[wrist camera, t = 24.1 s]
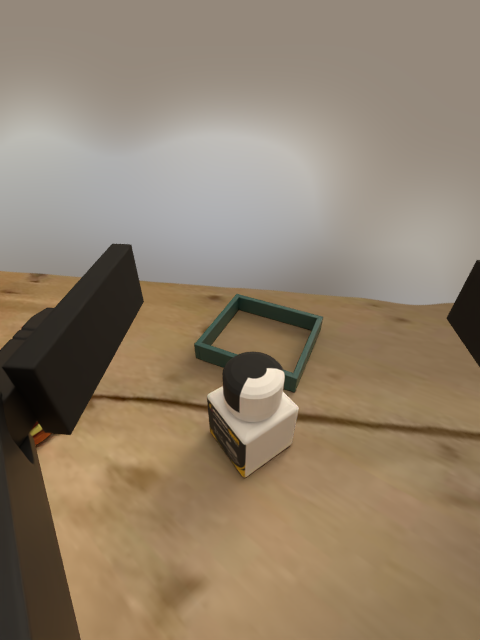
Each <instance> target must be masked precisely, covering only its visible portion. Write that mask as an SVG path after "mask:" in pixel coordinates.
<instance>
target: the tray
mask: <svg viewBox="0 0 480 640" xmlns="http://www.w3.org/2000/svg"><path fill="white" fill-rule="evenodd" d="M238 310H242V311H245V312H249V313H252V314H256V315H259V316H263V317H267V318H270V319H274V320H277V321H281V322H284V323H288V324H291V325H295V326H298V327H302V328H306V329H309V330H312V332H311V334H310V336H309V338H308V341H307V343H306V345H305V347H304V350H303V352H302V354H301V357H300V359H299V361H298V363H297V366H296V368H295V370H294V372H293V373H292V372H289V371H285V370H283V371H284V375H285V378H284V386H283V389H286V390H290V391H292V392H295V391H296V388H297V386H298V384H299V381H300V379H301V376H302V374H303V371H304V369H305V366H306V364H307V361H308V359H309V357H310V354H311V352H312V349H313V347H314V344H315V342H316V339H317V337H318V335H319V332H320V330H321V325H322V320H323V317H322V316H318V315H314V314H311V313H307V312H303V311H299V310H296V309H292V308H288V307H284V306H280V305H277V304H273V303H269V302H265V301H262V300H258V299H254V298H250V297H247V296H243V295H239V294H236V295H235V297H234V298H233V299H232V300H231V301H230V302H229V304H228V305H227V306H226V307H225V308H224V310H223V311H222V312H221V313H220V314H219V316H218V317H217V318H216V319H215V320H214V322H213V323H212V324H211V325H210V326H209V327H208V329H207V330H206V331H205V332H204V333H203V335H202V336H201V337H200V338H199V339H198V341H197V342H196V343H195V344H194V346H195V355H196V358H198V359H201V360H204V361H207V362H209V363H212V364H215V365H218V366H221V367H225V365H226V364H227V362H228V361H229V360H230V359H232V358H233V357H235V356H237V354H234V353H231V352H228V351H225V350H222V349H219V348H216V347H213V346H211V344H212V343H213V342H214V341H215V339H216V338H217V337H218V335H219V334H220V333H221V332H222V330H223V329H224V328H225V326H226V325H227V324H228V323H229V321H230V320H231V319H232V317H233V316H234V315H235V314H236V312H237V311H238Z"/></svg>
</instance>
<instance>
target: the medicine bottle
mask: <svg viewBox="0 0 480 640" xmlns="http://www.w3.org/2000/svg"><path fill="white" fill-rule="evenodd" d="M284 378H285V375H284V371H283V368H282V366H281V365H280V364H279V363H278V362H277V361H276V360H275V359H274V358H272V357H271V356H269V355H267V354H264V353H260V352H245V353H241V354H239V355H237V356H235V357H233V358H232V359H230V360H229V361H228V362H227V364H226V365H225V367H224V369H223V386H222V387H220V388H218V389H217V390H215V391H213V392H211V393H209V394H208V396H207V402H208V413H209V424H210V432H211V433H212V435H213V436H214V437H215V439H216V440H217V442H218V443H219V444H220V446H221V447H222V449H223V450H224V451H225V453H226V454H227V456H228V457H229V458H230V460H231V461H232V463H233V464H234V465H235V467H236V468H237V470H238V471H239V472H240V474H241V475H242V476H243V477H247V476H248V475H250V474H251V473H252V472H254V471H255V470H256V469H258V468H259V467H261V466H262V465H263V464H265V463H266V462H268V461H269V460H270V459H272V458H273V457H274V456H276V455H277V454H279V453H280V452H281V451H283V450H284V449H285V448H287V447H288V446H290V445H291V444H292V440H293V435H294V430H295V425H296V420H297V415H298V410H299V408H298V406H297V405H296V404H295V403H294V402H293V401H292V400H291V399H290V398H289V397H288V396H287V395H286V394H285V393H284V392H283V386H284Z"/></svg>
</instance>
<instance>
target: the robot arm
mask: <svg viewBox="0 0 480 640" xmlns="http://www.w3.org/2000/svg"><path fill="white" fill-rule="evenodd" d="M143 302H144V301H143V296H142V292H141V287H140V283H139V278H138V274H137V269H136V264H135V260H134V255H133V251H132V246H131V245H129V244H112V245H111V246H110V247H109V248H108V249H107V250H106V251H105V253H104V254H103V255H102V256H101V257H100V258H99V259H98V260H97V261H96V262H95V264H94V265H93V266H92V267H91V268H90V269H89V270H88V271H87V273H86V274H85V275H84V276H83V277H82V278H81V279H80V280H79V281H78V282H77V283H76V285H75V286H74V287H73V288H72V289H71V290H70V291H69V292H68V293H67V295H66V296H65V297H64V298H63V299H62V300H61V301H60V302H59V303H58V305H57V306H56V307H55V308H46V309H44V310H42V311H41V312H39V313H37V314H36V315H34V316H33V317H31V318H30V319H29V320H28V321H27V323H26V324H25V325H24V326H23V327H22V329H21V330H19V331H18V332H17V333H16V334H15V335H14V336H13V339H10V340H9V341H8V342H7V343H6V344H5V346H4V347H3V348H2V349H1V350H0V640H81V639H80V634H79V630H78V626H77V622H76V617H75V613H74V609H73V605H72V600H71V596H70V592H69V587H68V583H67V579H66V575H65V570H64V566H63V562H62V558H61V553H60V549H59V545H58V540H57V536H56V532H55V528H54V523H53V519H52V515H51V511H50V506H49V502H48V498H47V493H46V489H45V485H44V481H43V476H42V472H41V468H40V464H39V459H38V455H37V451H36V446H35V442H34V439H33V437H32V435H31V434H30V431H31V429H32V428H33V426H34V425H35V423H36V422H37V421H38V423H39V424H40V426H41V427H42V429H43V430H44V432H45V433H54V434H66V435H71V433H72V431H73V430H74V428H75V426H76V424H77V422H78V421H79V419H80V417H81V415H82V413H83V411H84V410H85V408H86V406H87V404H88V402H89V400H90V399H91V397H92V395H93V393H94V391H95V390H96V388H97V386H98V384H99V382H100V380H101V379H102V377H103V375H104V373H105V371H106V369H107V368H108V366H109V364H110V362H111V360H112V359H113V357H114V355H115V353H116V351H117V349H118V348H119V346H120V344H121V342H122V340H123V338H124V337H125V335H126V333H127V331H128V329H129V328H130V326H131V324H132V322H133V320H134V318H135V317H136V315H137V313H138V311H139V309H140V307H141V306H142V304H143ZM447 320H448V321H449V323H450V324H451V326H452V327H453V329H454V330H455V332H456V333H457V334H458V336H459V337H460V339H461V340H462V342H463V343H464V345H465V346H466V348H467V349H468V351H469V352H470V354H471V355H472V357H473V358H474V359H475V361H476V362H477V364H478V365H479V367H480V260H477V261H476V263H475V265H474V267H473V269H472V271H471V273H470V274H469V276H468V278H467V280H466V282H465V284H464V286H463V288H462V290H461V292H460V294H459V295H458V297H457V299H456V301H455V303H454V305H453V307H452V309H451V311H450V313H449V315H448V316H447Z"/></svg>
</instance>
